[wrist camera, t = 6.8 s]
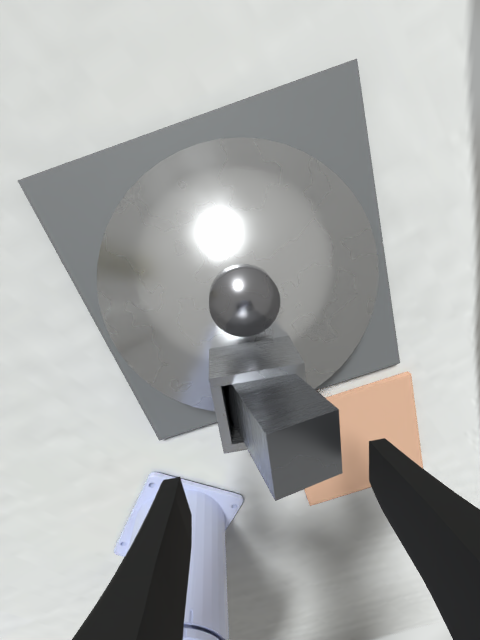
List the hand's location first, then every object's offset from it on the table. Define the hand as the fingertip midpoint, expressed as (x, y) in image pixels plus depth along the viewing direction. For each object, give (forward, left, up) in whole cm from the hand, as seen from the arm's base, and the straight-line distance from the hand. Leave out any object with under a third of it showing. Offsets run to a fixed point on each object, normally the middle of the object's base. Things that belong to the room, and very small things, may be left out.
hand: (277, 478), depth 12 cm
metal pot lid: (+4, +3, -10) cm, 11 cm away
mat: (-4, -11, -10) cm, 16 cm away
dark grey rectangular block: (0, 0, -7) cm, 7 cm away
